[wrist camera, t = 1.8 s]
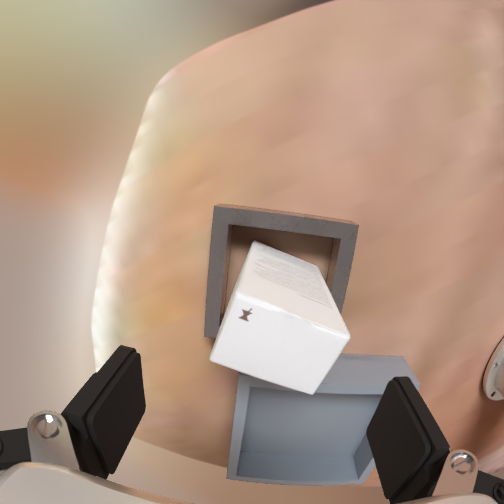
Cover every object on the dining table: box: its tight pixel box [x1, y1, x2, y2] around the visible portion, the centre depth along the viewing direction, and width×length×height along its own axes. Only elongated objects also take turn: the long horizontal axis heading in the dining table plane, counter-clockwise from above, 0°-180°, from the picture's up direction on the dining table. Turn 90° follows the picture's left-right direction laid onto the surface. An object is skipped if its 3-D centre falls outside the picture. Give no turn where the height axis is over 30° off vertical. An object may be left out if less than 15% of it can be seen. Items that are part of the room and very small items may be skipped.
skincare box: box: [210, 240, 351, 395], centre depth 19 cm, size 6×4×12 cm
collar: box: [204, 204, 359, 338], centre depth 24 cm, size 11×11×2 cm
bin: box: [226, 354, 420, 486], centre depth 26 cm, size 16×16×5 cm
